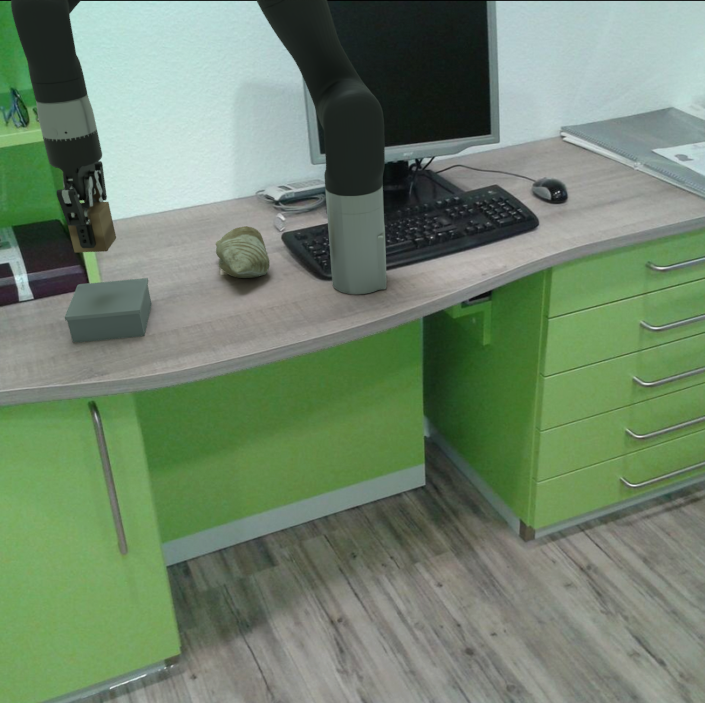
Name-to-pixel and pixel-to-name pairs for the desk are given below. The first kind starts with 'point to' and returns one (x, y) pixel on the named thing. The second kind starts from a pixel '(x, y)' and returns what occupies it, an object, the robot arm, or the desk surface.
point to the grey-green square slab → (109, 310)
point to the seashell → (243, 253)
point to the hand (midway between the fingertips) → (94, 239)
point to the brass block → (97, 229)
